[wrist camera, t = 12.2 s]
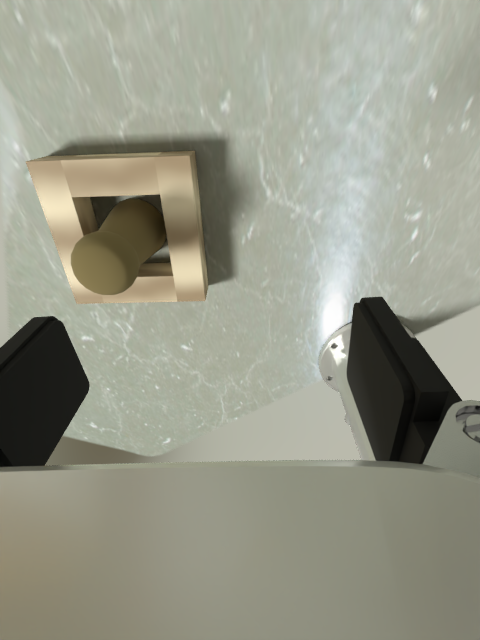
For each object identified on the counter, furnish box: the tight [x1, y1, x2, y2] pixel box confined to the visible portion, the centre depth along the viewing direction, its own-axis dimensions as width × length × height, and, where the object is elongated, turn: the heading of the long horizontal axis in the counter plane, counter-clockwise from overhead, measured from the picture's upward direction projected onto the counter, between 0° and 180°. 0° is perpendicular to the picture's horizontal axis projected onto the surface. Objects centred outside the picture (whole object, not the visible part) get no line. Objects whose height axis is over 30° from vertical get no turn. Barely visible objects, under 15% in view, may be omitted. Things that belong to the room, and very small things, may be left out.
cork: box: [71, 199, 167, 295], centre depth 30 cm, size 6×6×11 cm
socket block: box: [26, 151, 208, 304], centre depth 33 cm, size 14×14×4 cm
